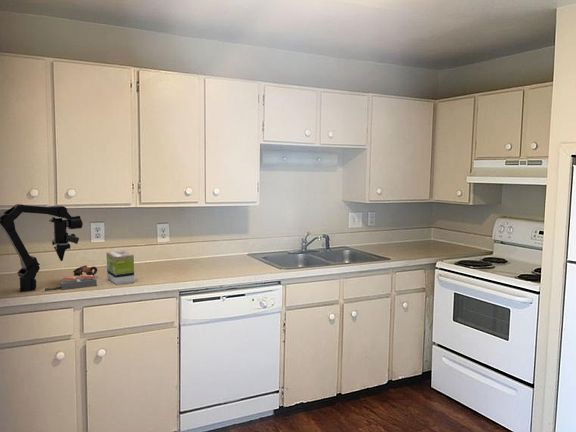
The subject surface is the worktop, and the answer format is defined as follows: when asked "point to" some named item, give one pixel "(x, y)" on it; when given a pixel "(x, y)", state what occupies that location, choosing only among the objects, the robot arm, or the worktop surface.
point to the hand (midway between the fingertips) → (61, 260)
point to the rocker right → (86, 276)
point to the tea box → (120, 267)
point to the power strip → (75, 284)
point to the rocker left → (69, 278)
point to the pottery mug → (85, 269)
